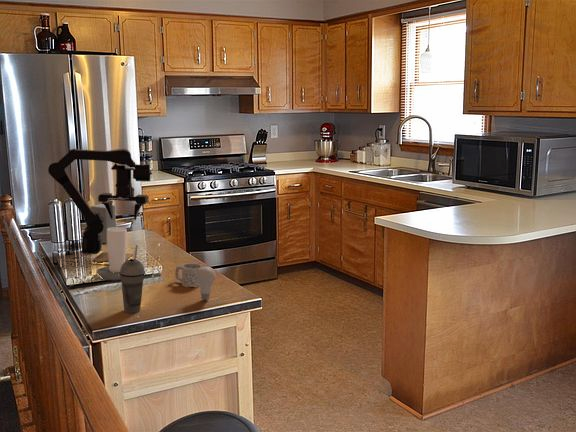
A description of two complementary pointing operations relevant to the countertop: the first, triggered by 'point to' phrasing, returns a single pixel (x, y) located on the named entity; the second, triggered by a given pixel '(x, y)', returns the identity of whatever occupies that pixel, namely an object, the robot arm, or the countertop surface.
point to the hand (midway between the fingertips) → (123, 219)
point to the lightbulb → (205, 281)
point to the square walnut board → (104, 257)
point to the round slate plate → (108, 274)
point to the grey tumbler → (116, 247)
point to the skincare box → (105, 220)
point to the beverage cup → (132, 284)
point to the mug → (188, 274)
